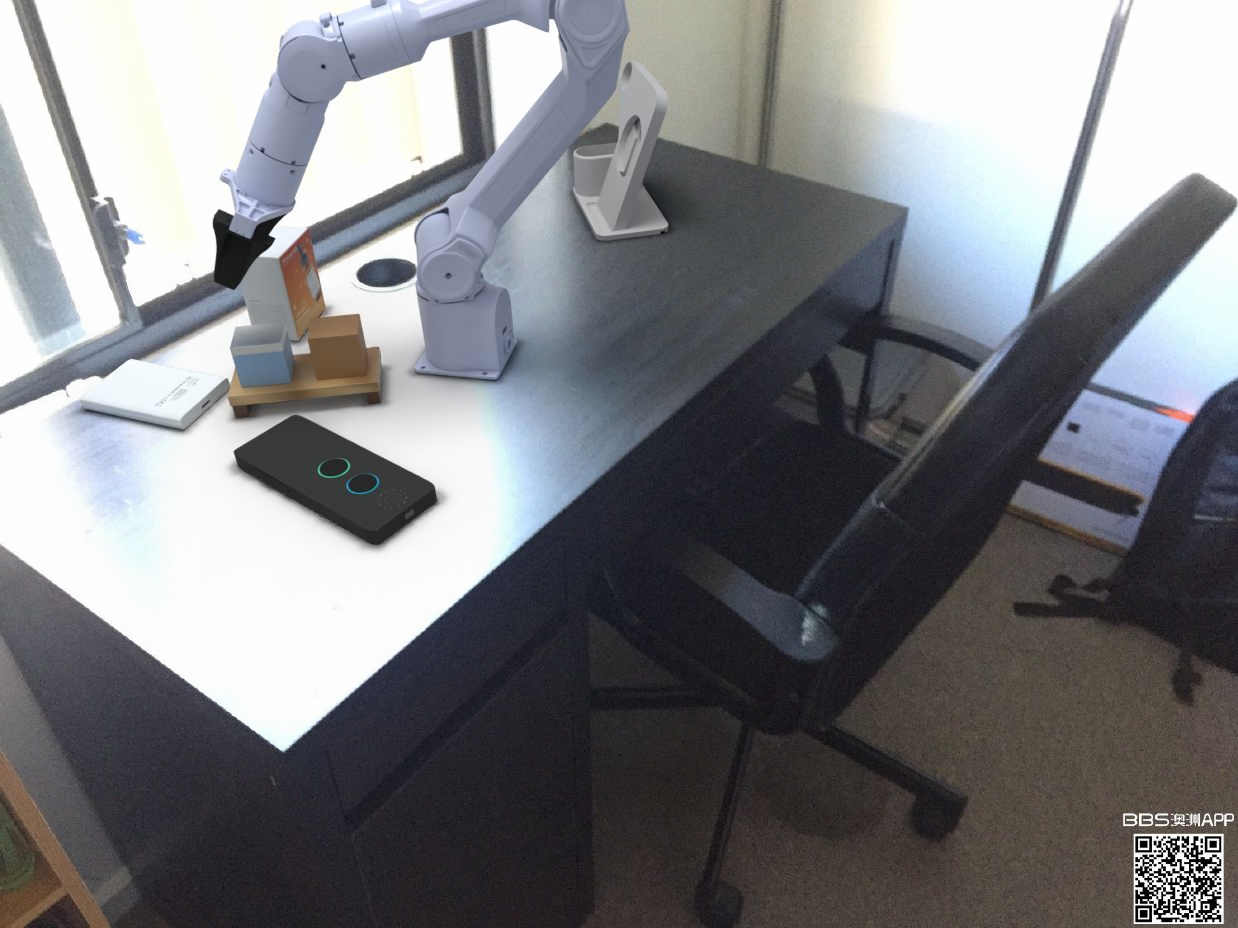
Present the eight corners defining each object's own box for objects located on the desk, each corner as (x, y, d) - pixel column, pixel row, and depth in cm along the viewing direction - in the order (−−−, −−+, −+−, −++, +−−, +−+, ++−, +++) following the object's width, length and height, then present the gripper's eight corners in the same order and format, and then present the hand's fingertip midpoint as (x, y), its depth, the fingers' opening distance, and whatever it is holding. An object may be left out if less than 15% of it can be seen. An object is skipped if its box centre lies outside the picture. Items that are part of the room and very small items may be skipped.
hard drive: (135, 369, 116) (231, 388, 113) (83, 410, 110) (183, 431, 107) (131, 357, 115) (227, 375, 112) (78, 397, 109) (178, 418, 106)
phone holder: (570, 189, 151) (564, 61, 140) (639, 181, 153) (637, 54, 142) (597, 242, 138) (593, 105, 127) (672, 232, 140) (673, 96, 129)
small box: (298, 342, 120) (278, 258, 113) (253, 338, 121) (230, 255, 114) (327, 308, 126) (310, 226, 119) (284, 304, 127) (264, 223, 120)
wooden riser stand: (383, 368, 115) (379, 346, 113) (382, 404, 110) (377, 381, 108) (242, 382, 114) (236, 360, 112) (234, 419, 108) (227, 396, 106)
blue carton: (295, 361, 111) (285, 321, 108) (291, 383, 108) (281, 343, 105) (246, 366, 111) (235, 326, 108) (241, 388, 108) (229, 348, 105)
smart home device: (371, 533, 91) (228, 452, 101) (375, 547, 92) (232, 466, 102) (439, 483, 96) (296, 411, 106) (441, 498, 97) (300, 424, 107)
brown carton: (367, 354, 112) (359, 313, 109) (366, 375, 109) (357, 334, 106) (319, 358, 112) (310, 317, 109) (317, 380, 108) (307, 338, 105)
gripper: (255, 107, 104) (214, 224, 110) (216, 153, 92) (173, 281, 98) (324, 141, 106) (279, 253, 113) (295, 190, 94) (247, 313, 101)
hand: (234, 268), depth 106 cm, fingers open, 7 cm apart
